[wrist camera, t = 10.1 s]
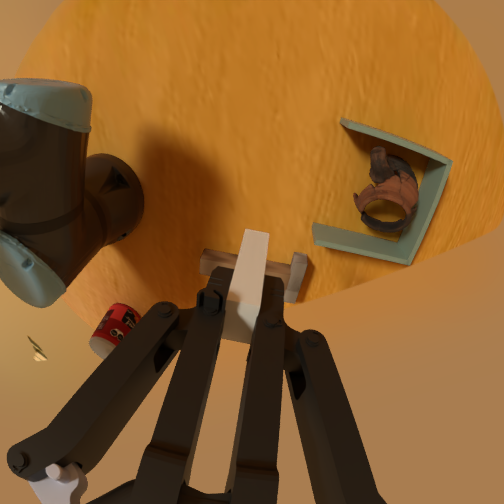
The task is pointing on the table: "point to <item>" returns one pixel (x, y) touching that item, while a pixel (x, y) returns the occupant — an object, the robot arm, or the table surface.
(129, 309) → the canned food
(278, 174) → the table surface
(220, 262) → the hammer
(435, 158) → the green u-shaped frame
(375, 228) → the pottery mug
